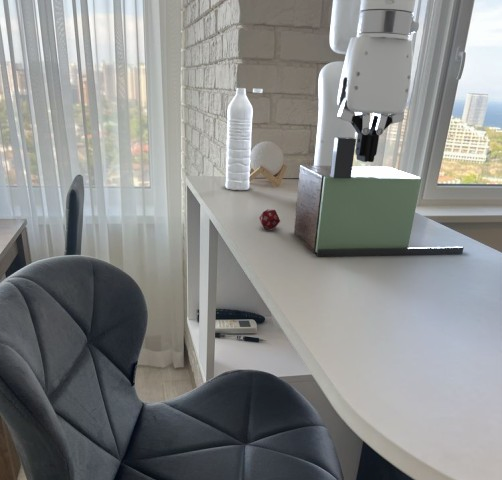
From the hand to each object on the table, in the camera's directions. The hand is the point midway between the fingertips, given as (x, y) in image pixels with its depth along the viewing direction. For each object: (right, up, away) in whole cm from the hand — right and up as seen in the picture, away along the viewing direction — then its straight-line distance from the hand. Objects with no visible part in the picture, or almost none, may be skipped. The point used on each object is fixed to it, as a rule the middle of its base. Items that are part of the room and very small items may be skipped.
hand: (364, 160), depth 81 cm
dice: (-15, -7, +20) cm, 26 cm away
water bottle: (-21, +12, +58) cm, 63 cm away
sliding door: (+1, -14, +7) cm, 15 cm away
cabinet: (+5, -11, +14) cm, 18 cm away
